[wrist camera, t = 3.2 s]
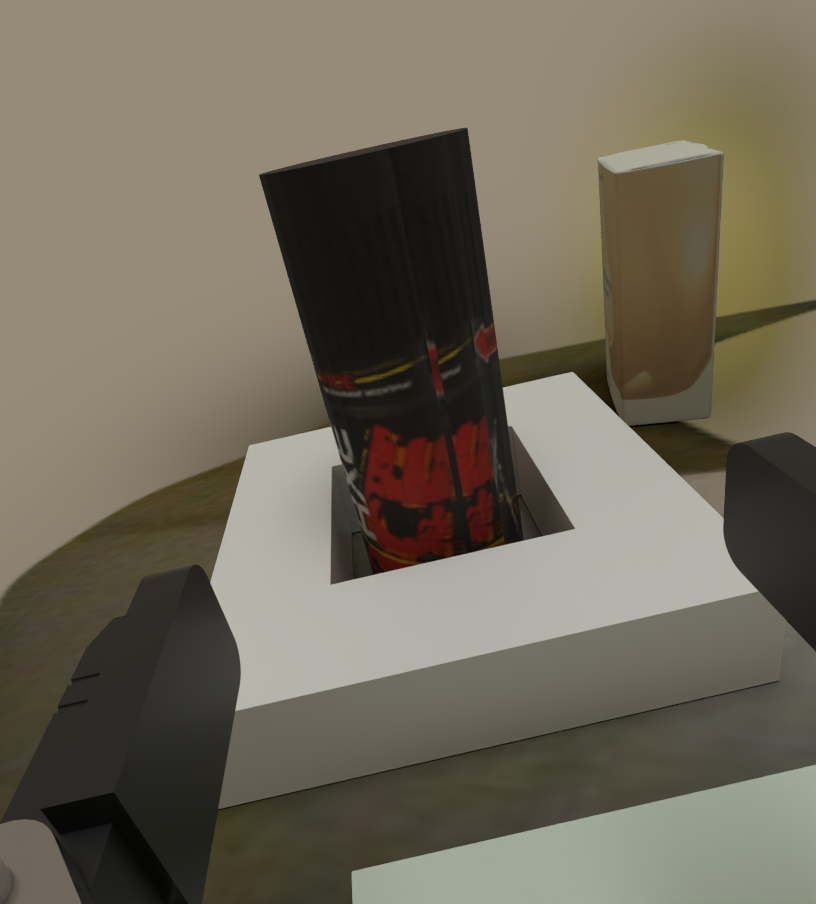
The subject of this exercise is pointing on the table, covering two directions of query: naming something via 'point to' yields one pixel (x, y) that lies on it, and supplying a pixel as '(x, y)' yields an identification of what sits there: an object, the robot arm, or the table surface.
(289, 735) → the socket block
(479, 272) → the deodorant
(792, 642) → the table surface
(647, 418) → the skincare box
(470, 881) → the mat
